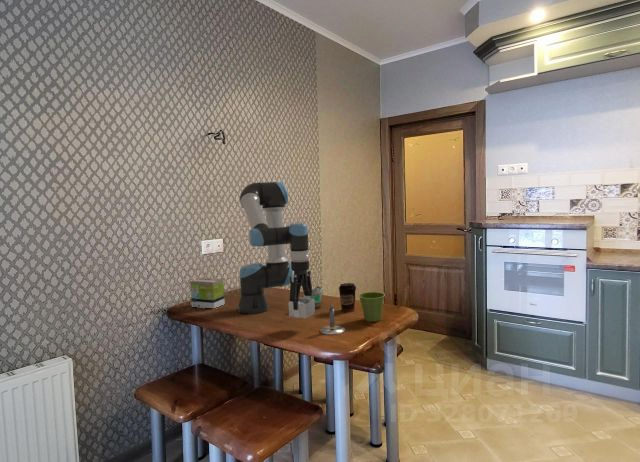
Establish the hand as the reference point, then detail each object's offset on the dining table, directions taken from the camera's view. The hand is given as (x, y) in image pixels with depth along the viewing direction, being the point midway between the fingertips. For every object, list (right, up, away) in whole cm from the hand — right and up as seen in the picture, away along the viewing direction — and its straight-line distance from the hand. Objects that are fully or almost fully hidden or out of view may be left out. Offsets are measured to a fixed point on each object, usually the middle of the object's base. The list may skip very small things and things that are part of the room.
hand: (302, 313), depth 162 cm
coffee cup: (+21, -4, +26) cm, 34 cm away
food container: (+6, -4, +33) cm, 34 cm away
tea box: (-53, -6, +47) cm, 71 cm away
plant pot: (+31, -5, +9) cm, 33 cm away
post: (+13, -6, -3) cm, 14 cm away
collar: (0, 0, 0) cm, 0 cm away
